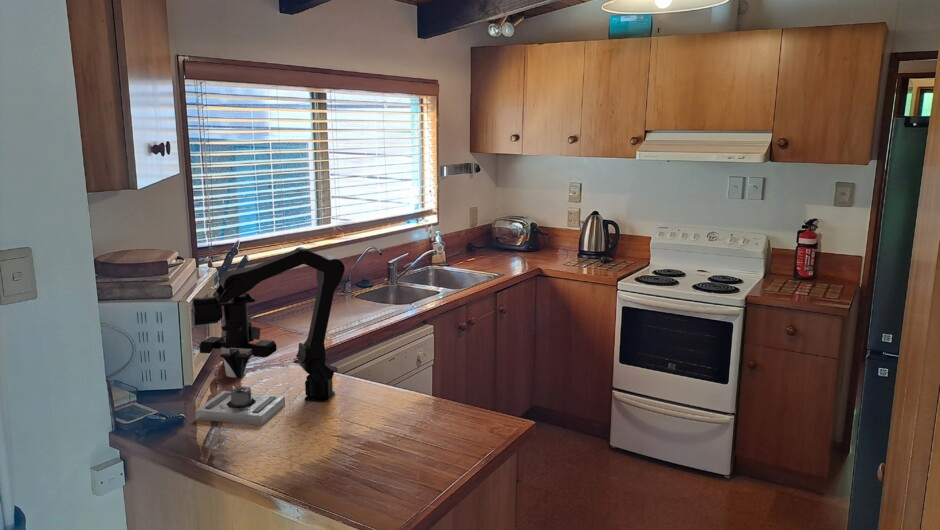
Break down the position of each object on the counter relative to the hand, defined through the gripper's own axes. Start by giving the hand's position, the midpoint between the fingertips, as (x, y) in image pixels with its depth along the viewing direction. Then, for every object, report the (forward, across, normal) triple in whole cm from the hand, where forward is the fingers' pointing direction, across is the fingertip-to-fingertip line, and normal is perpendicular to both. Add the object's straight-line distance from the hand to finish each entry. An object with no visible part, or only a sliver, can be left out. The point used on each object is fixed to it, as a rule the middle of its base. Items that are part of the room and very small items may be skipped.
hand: (240, 378), depth 175 cm
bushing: (+9, 0, 0) cm, 9 cm away
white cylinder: (+10, +16, -26) cm, 32 cm away
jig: (+9, 0, 0) cm, 9 cm away
